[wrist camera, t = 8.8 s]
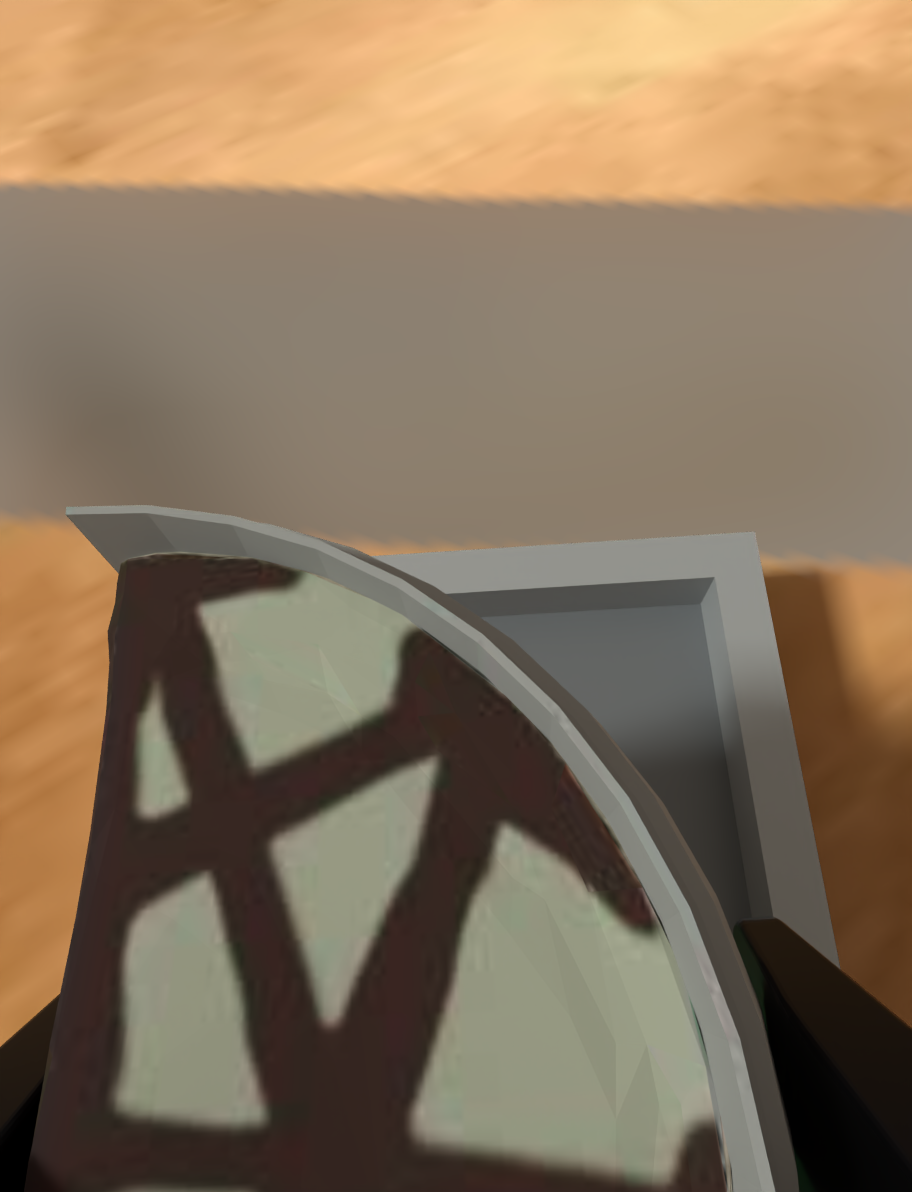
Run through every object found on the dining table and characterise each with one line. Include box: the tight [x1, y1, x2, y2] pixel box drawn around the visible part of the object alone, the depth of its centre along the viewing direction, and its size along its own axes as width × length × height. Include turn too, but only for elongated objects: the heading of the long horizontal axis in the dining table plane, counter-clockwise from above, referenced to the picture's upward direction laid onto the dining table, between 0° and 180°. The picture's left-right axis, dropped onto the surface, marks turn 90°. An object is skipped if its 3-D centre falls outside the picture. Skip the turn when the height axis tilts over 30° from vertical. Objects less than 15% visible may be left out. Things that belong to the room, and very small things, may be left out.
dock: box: [371, 532, 840, 969], centre depth 16 cm, size 13×19×2 cm
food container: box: [24, 505, 799, 1192], centre depth 10 cm, size 12×6×10 cm, turn 3°
